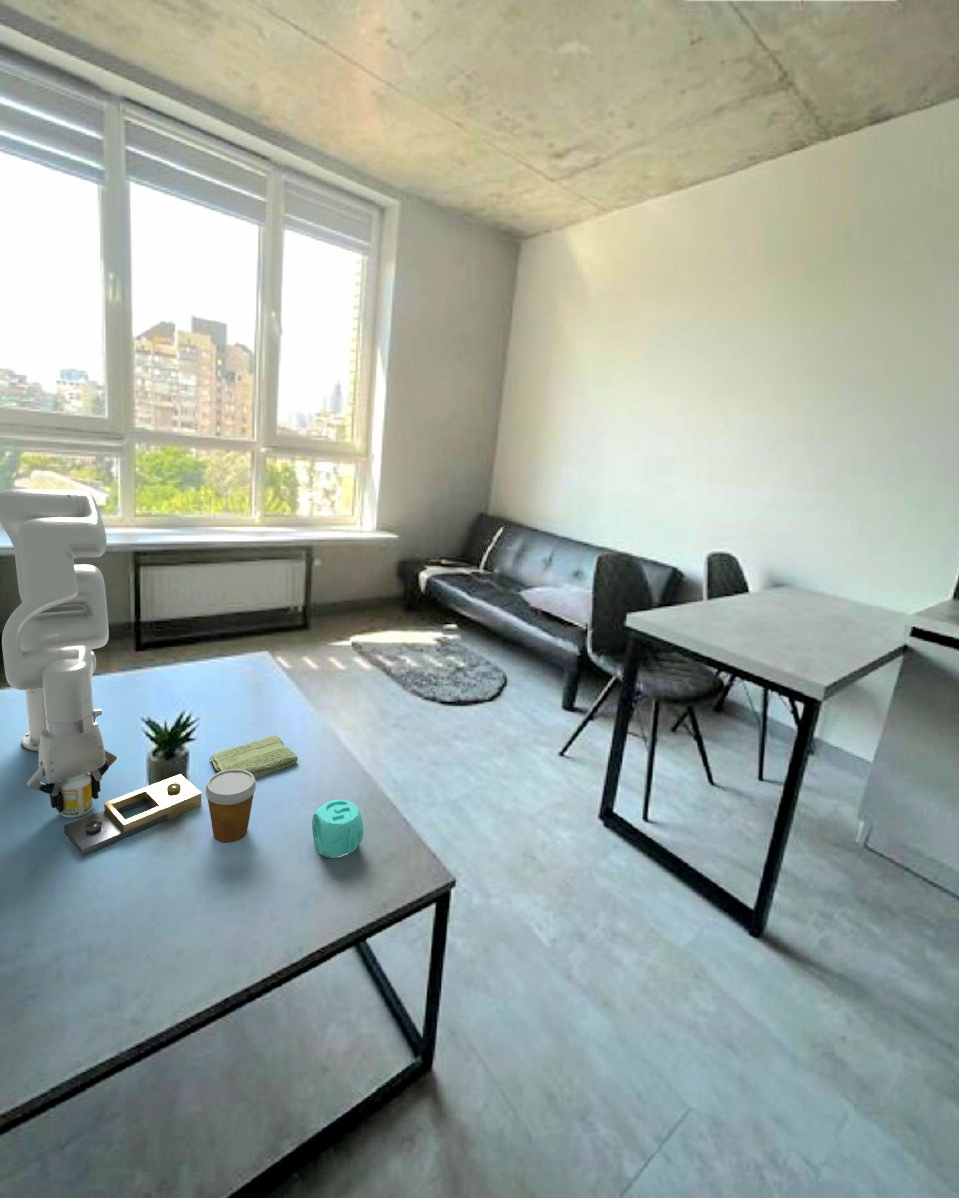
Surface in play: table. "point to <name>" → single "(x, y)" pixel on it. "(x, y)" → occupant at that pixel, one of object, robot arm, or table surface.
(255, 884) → the table surface
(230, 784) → the disposable coffee cup
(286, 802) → the table surface
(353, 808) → the decorative dice
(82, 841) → the holed plate
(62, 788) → the supplement bottle
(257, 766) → the washcloth
